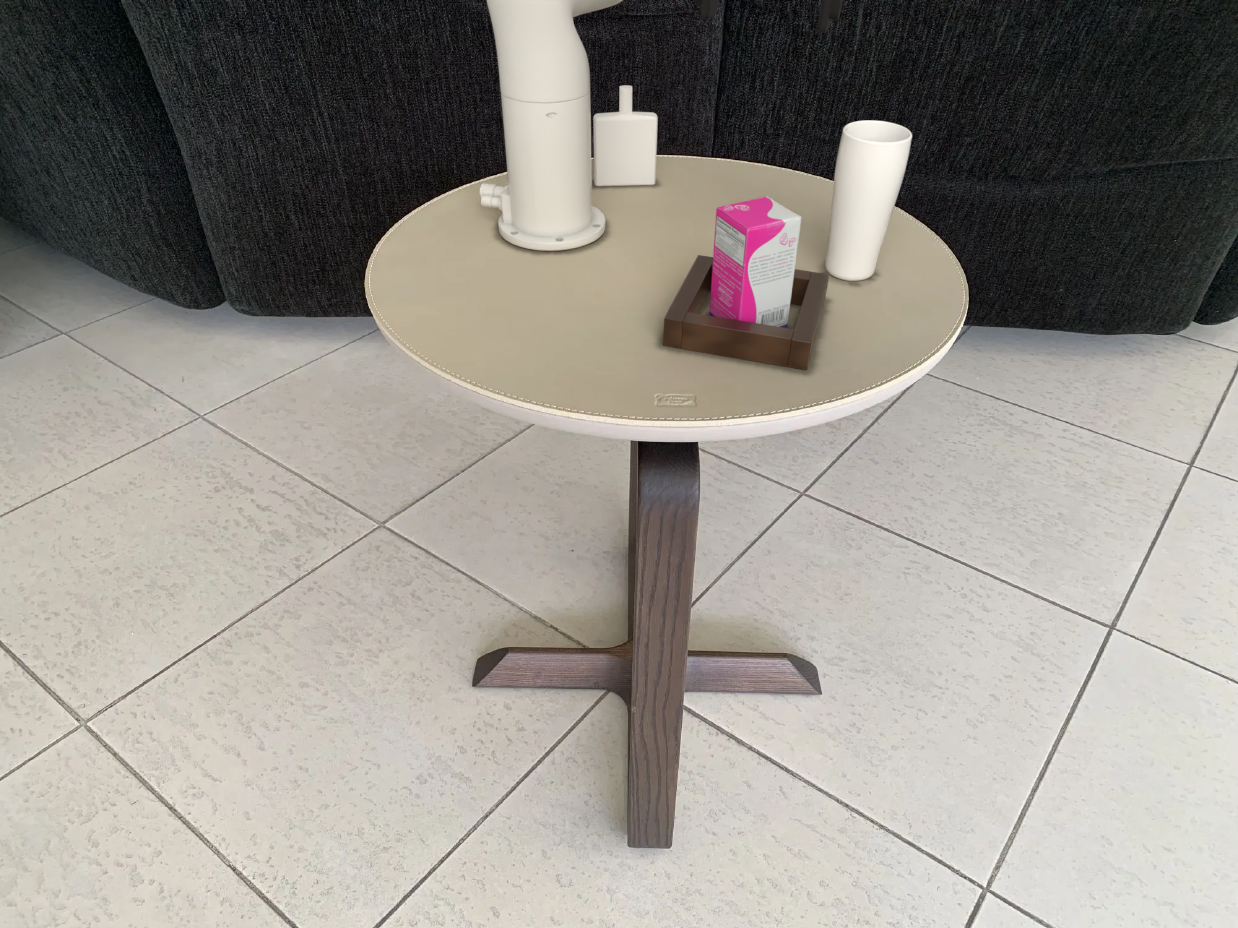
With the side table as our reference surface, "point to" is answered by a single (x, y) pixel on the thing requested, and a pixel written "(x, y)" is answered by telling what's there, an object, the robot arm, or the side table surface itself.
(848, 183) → the drinking glass
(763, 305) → the supplement box
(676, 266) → the side table surface
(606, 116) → the perfume bottle
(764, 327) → the socket
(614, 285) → the side table surface
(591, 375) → the side table surface
